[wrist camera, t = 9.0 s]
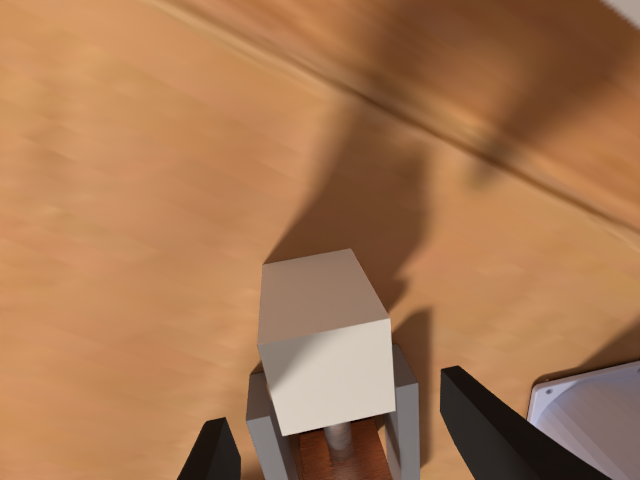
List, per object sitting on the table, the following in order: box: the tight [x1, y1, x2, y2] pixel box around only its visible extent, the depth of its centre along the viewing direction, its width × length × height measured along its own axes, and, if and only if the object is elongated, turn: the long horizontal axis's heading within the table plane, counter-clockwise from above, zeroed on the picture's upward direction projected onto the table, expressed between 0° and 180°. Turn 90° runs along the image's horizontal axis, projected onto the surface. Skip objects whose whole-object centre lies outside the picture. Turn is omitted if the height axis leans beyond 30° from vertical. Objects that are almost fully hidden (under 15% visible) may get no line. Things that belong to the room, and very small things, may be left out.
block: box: [257, 248, 396, 436], centre depth 14 cm, size 5×5×6 cm
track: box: [246, 344, 420, 480], centre depth 20 cm, size 9×14×3 cm, turn 8°
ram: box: [266, 379, 393, 480], centre depth 18 cm, size 6×10×4 cm, turn 8°
